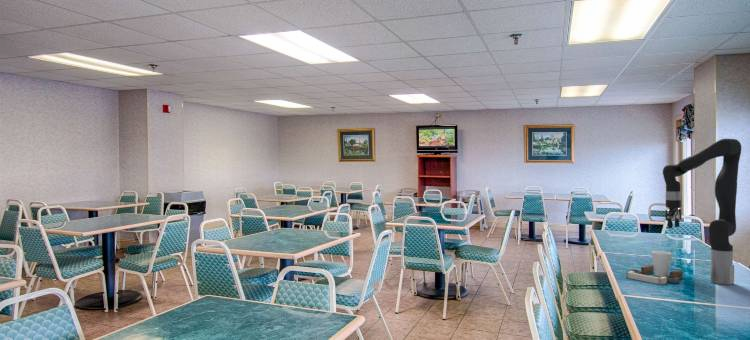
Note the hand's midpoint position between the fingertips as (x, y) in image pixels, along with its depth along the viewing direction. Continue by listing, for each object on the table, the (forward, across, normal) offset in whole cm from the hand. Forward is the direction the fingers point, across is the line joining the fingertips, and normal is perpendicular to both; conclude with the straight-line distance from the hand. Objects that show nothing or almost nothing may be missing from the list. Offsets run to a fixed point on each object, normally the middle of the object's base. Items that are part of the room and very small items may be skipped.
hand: (673, 227), depth 270 cm
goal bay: (+26, -32, 0) cm, 41 cm away
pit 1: (+26, -25, +9) cm, 37 cm away
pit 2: (+26, -26, -9) cm, 38 cm away
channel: (+26, -16, 0) cm, 30 cm away
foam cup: (+26, -16, 0) cm, 30 cm away
